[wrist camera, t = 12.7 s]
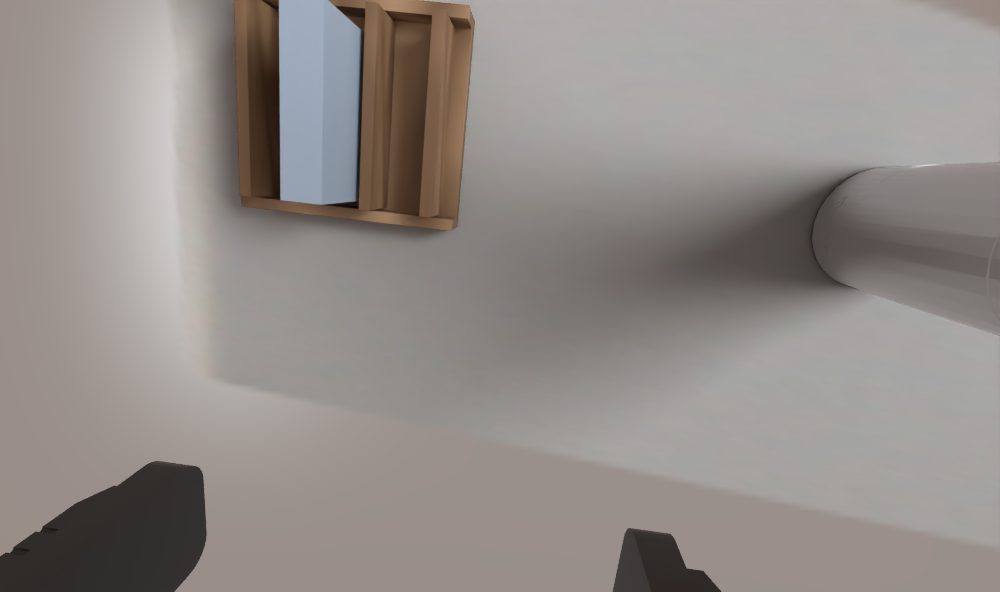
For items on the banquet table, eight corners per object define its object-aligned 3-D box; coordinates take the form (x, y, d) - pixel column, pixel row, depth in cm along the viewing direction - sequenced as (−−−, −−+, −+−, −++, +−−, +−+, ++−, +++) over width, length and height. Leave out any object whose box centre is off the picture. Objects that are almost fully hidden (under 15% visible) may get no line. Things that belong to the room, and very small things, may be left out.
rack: (474, 21, 34) (464, -7, 29) (457, 226, 37) (445, 233, 32) (261, 0, 34) (215, -31, 29) (265, 204, 38) (224, 207, 33)
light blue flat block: (378, 45, 33) (324, -4, 25) (372, 199, 36) (321, 204, 27) (344, 41, 33) (278, -8, 25) (340, 195, 36) (280, 200, 27)
